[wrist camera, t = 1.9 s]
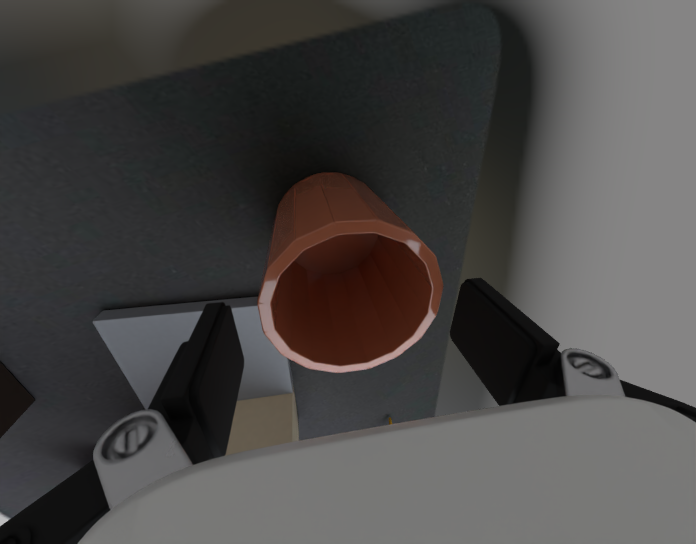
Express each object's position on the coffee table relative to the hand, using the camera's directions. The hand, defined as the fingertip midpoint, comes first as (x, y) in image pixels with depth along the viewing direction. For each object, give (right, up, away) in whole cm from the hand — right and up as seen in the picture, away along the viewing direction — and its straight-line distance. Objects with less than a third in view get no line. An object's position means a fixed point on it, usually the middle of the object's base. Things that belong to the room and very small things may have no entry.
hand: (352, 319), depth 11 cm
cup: (-1, +5, +8) cm, 9 cm away
